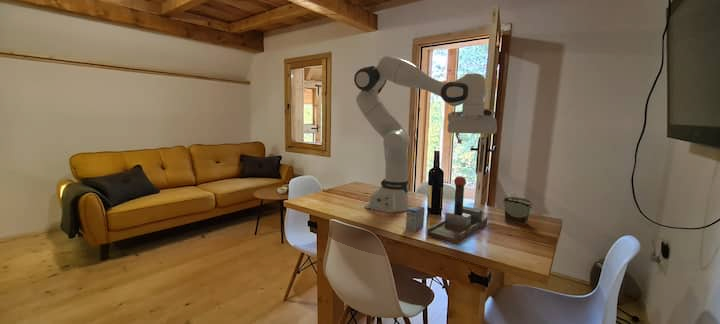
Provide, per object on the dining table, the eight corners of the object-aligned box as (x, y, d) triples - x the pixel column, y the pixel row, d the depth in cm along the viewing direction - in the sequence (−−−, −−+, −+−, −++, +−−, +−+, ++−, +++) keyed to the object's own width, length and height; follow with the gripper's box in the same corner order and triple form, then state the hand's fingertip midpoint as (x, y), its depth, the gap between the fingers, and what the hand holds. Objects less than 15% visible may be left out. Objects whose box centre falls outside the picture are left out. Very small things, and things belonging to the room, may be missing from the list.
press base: (456, 244, 111) (458, 226, 110) (427, 236, 119) (427, 218, 118) (487, 224, 134) (488, 208, 133) (460, 218, 141) (461, 203, 140)
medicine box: (414, 224, 132) (414, 204, 131) (423, 226, 130) (424, 206, 129) (405, 229, 126) (406, 208, 125) (415, 232, 124) (416, 211, 122)
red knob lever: (466, 229, 120) (469, 178, 118) (444, 224, 126) (447, 175, 123) (470, 226, 124) (473, 177, 121) (449, 221, 130) (452, 174, 127)
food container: (536, 223, 136) (538, 201, 134) (528, 226, 132) (531, 203, 131) (509, 216, 146) (511, 195, 144) (501, 218, 142) (503, 197, 141)
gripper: (447, 111, 135) (445, 143, 137) (498, 111, 127) (496, 145, 129) (448, 111, 140) (447, 142, 142) (498, 112, 133) (495, 144, 135)
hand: (470, 143), depth 136 cm, fingers open, 8 cm apart
